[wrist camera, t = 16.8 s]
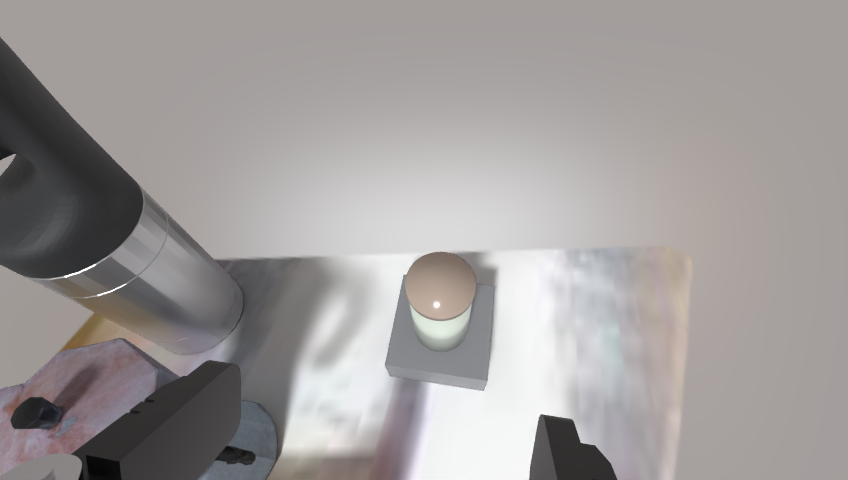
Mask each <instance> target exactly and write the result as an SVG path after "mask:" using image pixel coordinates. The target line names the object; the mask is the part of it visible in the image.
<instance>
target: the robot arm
mask: <svg viewBox="0 0 848 480" xmlns="http://www.w3.org/2000/svg"><path fill="white" fill-rule="evenodd" d="M12 154H16V156H15V158H14V159H13V161H12V163H11V164H10V165H9V167H8V168H7V169H6V170H5V171H4V173H3V174H2V175H1V176H0V265H2V266H5V267H7V268H8V269H10V270H12V271H14V272H16V273H18V274H20V275H23V276H24V277H27V278H28V279H30V280H32V281H34V282H36V283H38V284H40V285H42V286H44V287H46V288H48V289H50V290H52V291H54V292H56V293H58V294H60V295H62V296H64V297H66V298H68V299H70V300H72V301H74V302H76V303H78V304H80V305H82V306H84V307H85V308H87V309H89V310H91V311H93V312H95V313H97V314H99V315H101V316H103V317H105V318H107V319H109V320H111V321H113V322H115V323H117V324H119V325H121V326H123V327H125V328H126V329H128V330H130V331H132V332H134V333H136V334H138V335H140V336H142V337H144V338H146V339H148V340H149V341H151V342H153V343H155V344H157V345H159V346H161V347H163V348H165V349H167V350H169V351H172V352H174V353H178V354H183V355H185V354H195V353H199V352H203V351H205V350H208V349H210V348H212V347H214V346H215V345H217V344H218V343H220V342H221V341H222V340H223V339H225V338H226V337H227V336H228V335H229V334H230V333H231V331H232V330H233V329H234V327H235V326H236V324H237V322H238V320H239V319H240V316H241V313H242V310H243V295H242V291H241V289H240V287H239V285H238V284H237V283H236V282H235V281H234V280H233V279H232V278H231V277H230V276H229V275H228V274H227V273H226V272H225V271H224V270H223V269H222V268H221V266H220V265H219V264H218V263H217V262H216V261H215V260H214V259H213V258H212V257H211V256H210V255H209V254H208V253H207V252H206V251H205V250H204V249H203V248H202V247H201V246H200V245H199V244H198V243H197V242H196V241H195V240H194V239H193V238H192V237H191V236H190V235H189V234H188V233H187V232H186V231H185V230H184V229H183V228H182V227H181V226H180V225H179V224H178V223H177V222H176V221H175V220H174V219H173V218H172V217H171V216H170V215H169V214H168V213H167V212H166V211H165V210H164V209H163V208H162V207H160V205H159V204H158V203H157V202H156V201H155V200H154V199H153V198H152V197H151V196H150V195H149V194H148V193H147V192H146V191H145V190H144V189H143V188H142V187H141V186H140V185H138V183H137V182H136V181H135V180H134V179H133V178H132V177H131V176H130V175H129V174H128V173H126V171H124V169H123V168H122V167H121V166H119V165H118V164H117V163H116V162H115V161H114V160H113V159H112V157H111V156H110V155H109V154H108V153H106V152H105V150H104V149H103V148H102V147H101V146H100V145H99V144H98V143H97V142H96V141H95V140H93V138H92V137H91V136H90V135H89V134H88V133H87V132H86V131H85V130H84V129H83V128H82V127H81V126H80V125H79V124H78V123H77V122H76V121H75V120H74V119H73V118H72V117H71V116H70V115H69V113H68V112H66V110H65V109H64V108H63V107H62V106H61V105H60V104H59V103H58V102H57V101H56V100H55V98H54V97H53V96H52V95H51V94H50V93H49V91H48V90H47V89H46V88H45V87H44V86H43V85H42V84H41V82H40V81H39V80H38V79H37V78H36V77H35V76H34V74H33V73H32V72H31V71H30V70H29V69H28V68H27V66H26V65H25V64H24V63H23V62H22V61H21V60H20V58H19V57H18V56H17V55H16V54H15V53H14V52H13V51H12V49H11V48H10V47H9V46H8V45H7V44H6V43H5V42H4V41H3V40H2V39H1V38H0V160H2V159H3V158H6V157H8V156H10V155H12ZM240 420H241V380H240V369H239V367H238V365H236V364H230V363H224V362H218V361H212V360H209V361H206V362H204V363H203V364H202V365H200V366H199V367H198V368H197V369H195V370H194V371H193V372H191V373H190V374H189V375H188V376H183V377H181V378H178V379H176V380H174V381H172V382H169V383H167V384H165V385H163V386H161V387H160V388H159V389H157V390H156V391H155V392H153V393H152V394H151V395H149V396H148V397H147V398H145V400H144V402H142V401H141V402H140V403H138V404H137V405H136V406H134V407H133V408H132V409H130V412H129V413H125V414H124V415H122V416H121V417H120V418H118V419H117V420H116V421H114V422H113V423H112V424H110V425H109V426H108V427H106V428H105V429H104V430H102V431H101V432H100V433H98V434H97V435H96V436H94V437H93V438H92V439H90V440H89V441H88V442H86V443H85V444H84V445H82V446H81V447H80V448H78V449H77V450H76V451H74V452H73V453H72V454H51V455H46V456H42V457H38V458H35V459H32V460H29V461H27V462H25V463H22V464H20V465H18V466H16V467H14V468H12V469H10V470H9V471H7V472H5V473H4V474H2V475H1V476H0V480H198V479H199V477H200V476H201V475H202V474H203V473H204V472H205V470H206V469H207V468H208V467H209V466H210V465H211V463H212V462H213V461H214V460H215V459H216V458H217V456H218V455H219V454H220V453H221V452H222V451H223V449H224V448H225V447H226V446H227V445H228V443H229V442H230V441H231V440H232V439H233V437H234V436H235V434H236V432H237V430H238V427H239V424H240ZM529 480H617V478H616V475H615V473H614V470H613V468H612V465H611V463H610V462H609V461H608V460H607V459H606V458H605V456H604V455H603V454H602V453H601V452H600V451H599V450H598V448H597V447H596V446H595V445H589V444H583V443H580V439H579V436H578V433H577V430H576V427H575V424H574V422H573V420H572V419H567V418H561V417H555V416H549V415H542V414H541V415H540V417H539V420H538V426H537V431H536V437H535V443H534V449H533V454H532V460H531V466H530V478H529Z"/></svg>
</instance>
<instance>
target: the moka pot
mask: <svg viewBox="0 0 848 480" xmlns="http://www.w3.org/2000/svg"><path fill="white" fill-rule="evenodd" d="M178 378H181V377H179V376H178V375H176V374H175V373H173V372H172V371H170V370H169V369H168V368H166V367H165V366H163V365H162V364H160V363H159V362H158V361H156V360H155V359H153V358H152V357H150V356H149V355H148V354H146V353H145V352H143V351H142V350H141V349H139V348H138V347H136V346H135V345H133V344H132V343H130V342H129V341H127V340H126V339H122V338H118V339H114V340H110V341H106V342H101V343H97V344H93V345H88V346H84V347H79V348H75V349H70V350H65V351H62V352H60V353H57V354H56V355H55V356H54V357H53V358H52V359H51V360H50V361H49V362H48V363H47V364H45V365H44V366H43V367H42V368H41V369H39V371H37V372H36V373H35V375H34V376H32V377H31V378H30V379H29V380H28V381H26V382H25V383H24V384H20V385H16V386H11V387H7V388H2V389H0V476H1V475H2V474H4V473H5V472H7V471H9V470H10V469H12V468H14V467H16V466H18V465H20V464H22V463H25V462H27V461H29V460H32V459H35V458H38V457H42V456H46V455H51V454H72V453H73V452H74V451H76V450H77V449H78V448H80V447H81V446H82V445H84V444H85V443H86V442H88V441H89V440H90V439H92V438H93V437H94V436H96V435H97V434H98V433H100V432H101V431H102V430H104V429H105V428H106V427H108V426H109V425H110V424H112V423H113V422H114V421H116V420H117V419H118V418H120V417H121V416H122V415H124V414H125V413H129V412H130V409H132V408H133V407H134V406H136V405H137V404H138V403H140V402H141V401H142V402H144V400H145V398H147V397H148V396H149V395H151V394H152V393H153V392H155V391H156V390H157V389H159V388H160V387H161V386H163V385H165V384H167V383H169V382H172V381H174V380H176V379H178ZM276 455H277V434H276V427H275V424H274V422H273V420H272V419H271V418H270V416H269V415H268V414H267V413H266V411H265V410H264V409H263V408H262V407H261V406H260V404H258V403H254V402H248V401H241V420H240V424H239V427H238V430H237V432H236V434H235V436H234V437H233V439H232V440H231V441H230V442H229V443H228V445H227V446H226V447H225V448H224V449H223V451H222V452H221V453H220V454H219V455H218V456H217V458H216V459H215V460H214V461H213V462H212V463H211V465H210V466H209V467H208V468H207V469H206V470H205V472H204V473H203V474H202V475H201V476H200V477H199V479H198V480H265V479H266V478H267V476H268V474H269V473H270V471H271V469H272V467H273V465H274V464H275V462H276Z"/></svg>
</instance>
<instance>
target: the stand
mask: <svg viewBox="0 0 848 480" xmlns="http://www.w3.org/2000/svg"><path fill="white" fill-rule="evenodd" d="M405 280H406V275H404V276H403V281H402V285H401V290H400V295H399V300H398V305H397V309H396V314H395V319H394V324H393V329H392V334H391V338H390V343H389V348H388V353H387V358H386V363H385V366H386V369H387V371H388V373H389V375H390V376H393V377H399V378H405V379H412V380H418V381H425V382H431V383H437V384H444V385H450V386H456V387H463V388H469V389H476V390H482V391H484V388H485V386H486V383H487V381H488V368H489V355H490V341H491V328H492V315H493V302H494V289H495V286H490V285H482V284H476V289H475V295H474V299H473V302H472V306H471V313H470V319H469V326H468V332H467V335H466V337H465V339H464V341H463V342H462V343H461V344H460V345H459V346H458V347H456V348H455V349H453V350H450V351H446V352H436V351H432V350H430V349H428V348H426V347H425V346H423V345H422V344H421V343H420V341H419V340H418V338H417V336H416V334H415V330H414V325H413V319H412V314H411V308H410V303H409V301H408V298H407V294H406V288H405Z"/></svg>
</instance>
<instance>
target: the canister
mask: <svg viewBox="0 0 848 480" xmlns="http://www.w3.org/2000/svg"><path fill="white" fill-rule="evenodd" d="M405 288H406V294H407V298H408V301H409V303H410V308H411V314H412V319H413V325H414V330H415V334H416V336H417V338H418V340H419V341H420V343H421V344H422V345H423V346H425V347H426V348H428V349H430V350H432V351H436V352H446V351H450V350H453V349H455V348H456V347H458V346H459V345H460V344H461V343H462V342H463V341H464V339H465V337H466V335H467V332H468V326H469V319H470V313H471V306H472V302H473V299H474V295H475V289H476V279H475V275H474V273H473V270H472V269H471V267H470V266H469V264H468V263H467V262H466V261H465V260H463V259H462V258H460V257H459V256H457V255H454V254H451V253H447V252H434V253H430V254H427V255H424V256H422V257H421V258H419V259H418V260H416V261H415V262H414V263H413V265H412V266H411V267H410V269H409V270H408V273H407V275H406V280H405Z"/></svg>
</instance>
